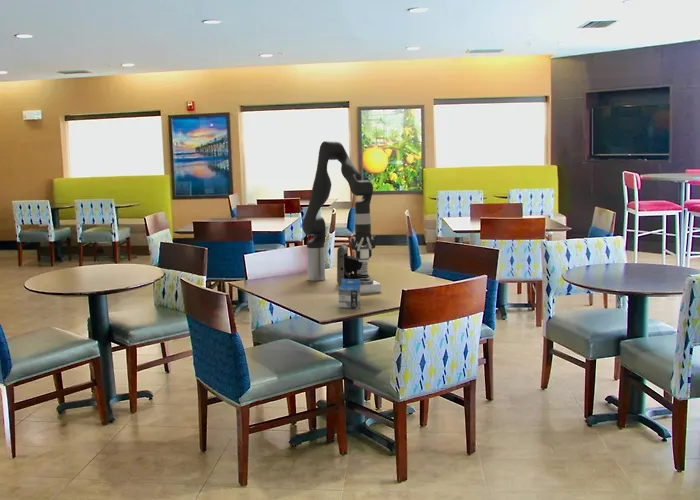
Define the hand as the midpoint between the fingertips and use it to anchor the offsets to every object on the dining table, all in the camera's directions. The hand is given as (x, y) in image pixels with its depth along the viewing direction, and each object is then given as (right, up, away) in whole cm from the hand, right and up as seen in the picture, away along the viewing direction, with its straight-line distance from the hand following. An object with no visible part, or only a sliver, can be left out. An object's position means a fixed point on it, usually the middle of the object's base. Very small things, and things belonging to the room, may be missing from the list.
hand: (363, 257), depth 339 cm
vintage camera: (-5, -14, +22) cm, 27 cm away
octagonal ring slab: (0, -16, +2) cm, 16 cm away
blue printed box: (-7, -21, -32) cm, 39 cm away
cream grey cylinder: (0, -1, 0) cm, 2 cm away
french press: (-1, -11, +43) cm, 44 cm away
